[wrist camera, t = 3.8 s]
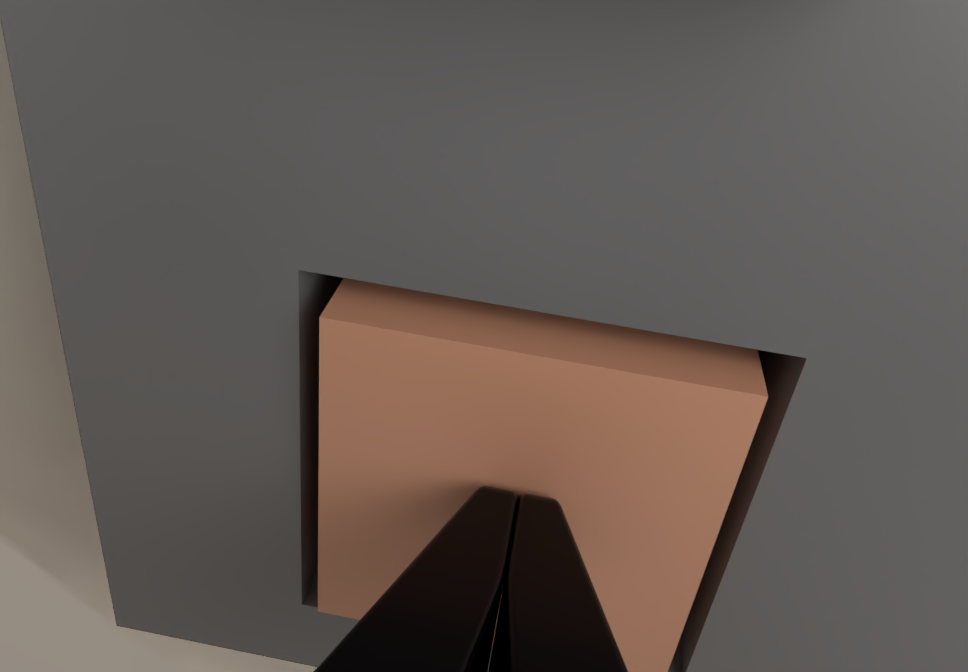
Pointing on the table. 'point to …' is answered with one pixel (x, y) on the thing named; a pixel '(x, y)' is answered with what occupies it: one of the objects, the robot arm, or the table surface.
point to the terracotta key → (528, 445)
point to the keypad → (515, 275)
